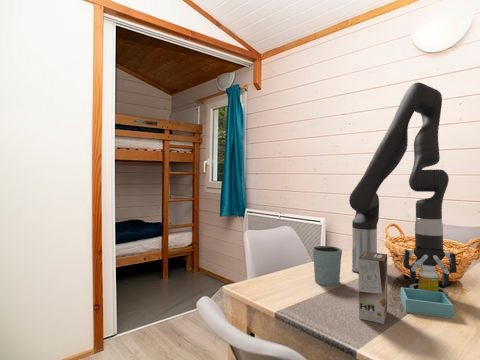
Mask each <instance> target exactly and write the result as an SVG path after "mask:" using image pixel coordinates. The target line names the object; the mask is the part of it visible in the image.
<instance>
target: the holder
mask: <svg viewBox="0 0 480 360" xmlns="http://www.w3.org/2000/svg"><path fill="white" fill-rule="evenodd" d="M408 288H411V289H418V283H411V284H409V286H408ZM438 292H443V293H444V294H445V296H446V297H447V298H448V299H449V292H448V291H447V290H446V289H444V287H443V288H442V287H440V286H438Z"/></svg>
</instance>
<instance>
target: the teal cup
mask: <svg viewBox="0 0 480 360" xmlns="http://www.w3.org/2000/svg"><path fill="white" fill-rule="evenodd" d="M312 255H313V269H314V270H313V271H314V281H315V283H316V284H317V285H320V286H324V287H335V285H336V286H338V285H339V284H340V280H341V277H340V275H341V266H342V265H341V264H342V262H341V261H342V255H343V249H342V248H340V247H336V246H330V245H317V246H316V245H315V246H313V247H312Z"/></svg>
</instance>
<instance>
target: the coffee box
mask: <svg viewBox="0 0 480 360" xmlns="http://www.w3.org/2000/svg"><path fill="white" fill-rule="evenodd" d="M387 313H388V253H382V252H377V253H373V252H371V253H370V252H364V253H363V254H362V255H361V256H360V257H359V272H358V319H360V320H363V321H364V320H365V321H368V322H369V321H370V322H372V323H374V322H375V323H379V324H382V325H383V324H385V322H386V318H387V315H388V314H387Z"/></svg>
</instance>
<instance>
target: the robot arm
mask: <svg viewBox="0 0 480 360" xmlns="http://www.w3.org/2000/svg"><path fill="white" fill-rule="evenodd" d="M442 105H443V95H442V93H441V92H440V91H439V90H438V89H436V88H433V87H432V86H430V85H427V84H424V83H423V82H415V83H413V84H411V85H410V86H409V87H408V88H407V90H406V91H405V93H404V95H403V96H402V99H401V100H400V103H399V105H398V108H397V109H396V112H395V114H394V116H393V119H392V121H391V123H390V125H389V127H388V129H387V131H386V133H385V135H384V136H383V138H382V140H381V141H380V143H379V145H378V147H377V148H376V151H375V152H374V155H373V157H372V158H371V161H370V162H369V164H368V166H367V168H366V169H365V172H364V174H363V176H362V177H361V179H360V180H359V181H358V183H357V184H356V186H355V187H354V189H353V190H352V191H351V194H350V195H349V200H348V201H349V202H348V203H349V206H350V207H351V209H352V210H354V211H355V216H354V218H353V220H352V223H351V225H352V226H351V228H352V229H351V230H352V235H351V236H352V237H351V240H352V241H351V242H352V243H351V244H352V246H351V249H352V250H351V252H352V253H351V258H352V259H351V262H352V264H351V265H352V266H351V267H352V270H351V271H352V272H356V273H359V257H360V256H361V255H362V254H363V253H364V252H370V253H371V252H373V253H378V223H379V217H380V199H379V195H378V190H379V188H380V186H381V185H382V184H383V182H384V181H385V180H386V179H387V178H388V177H389V175H390V174H392V173H393V172H394V170H395V169H396V168H397V167H398V165H399V164H400V163H401V160H402V159H403V157H404V155H405V154H406V152H407V150H408V141H409V135H408V134H409V133H408V130H409V129H408V128H409V123H410V121H411V119H412V117H413V115H414V112H415V113H418V114H420V115H421V121H422V125H421V128H420V129H419V131H418V132H417V134H416V135H415V138H414V142H413V153H414V156H413V157H414V159H413V166H412V170H411V173H410V176H409V179H408V185H409V187H410V189H411V190H412V191H414V192H419V193H421V192H424V193H425V192H427V193H429V192H430V193H434V194H433V195H432V196H430V197H427V198H422V199H418V200H416V202H415V222H414V249H412V250H411V249H407V248H404V249H403V267H404V269H406V270H409V279H410V281H411V282H412V284H417V272H416V270H417V269H418V268H419V267H421V264H424V265H434V266H437V265H438V267H439V268H440V269H441V270H442V272H441V284H442V286H443V287H447V286H448V285H449V284H450V274H456V273H457V255H456V253H454V252H453V251H449V252H445V251H444V225H443V216H442V215H443V212H442V211H443V202H444V197H445V193H446V191H447V188H448V185H449V180H450V178H449V175H448V173H447V171H445V170H443V169H425V168H428V167H432V166H435V165H438V163H439V162H440V160H441V157H440V156H441V155H440V146H439V145H440V144H439V130H440V129H439V128H440V120H441V112H442V108H443V107H442ZM412 255H414V256H415V257H416V258H415V259H414V260H413V262H412V263H411V264H410V258H412ZM445 257H446V259H447V260H448V267H446V266H445V265H444V263H443V262H442V260H444V258H445Z"/></svg>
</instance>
